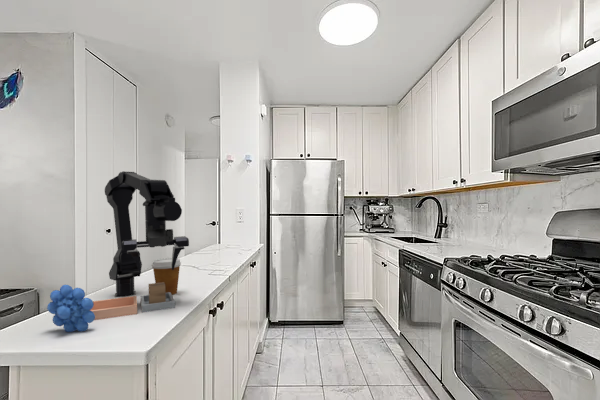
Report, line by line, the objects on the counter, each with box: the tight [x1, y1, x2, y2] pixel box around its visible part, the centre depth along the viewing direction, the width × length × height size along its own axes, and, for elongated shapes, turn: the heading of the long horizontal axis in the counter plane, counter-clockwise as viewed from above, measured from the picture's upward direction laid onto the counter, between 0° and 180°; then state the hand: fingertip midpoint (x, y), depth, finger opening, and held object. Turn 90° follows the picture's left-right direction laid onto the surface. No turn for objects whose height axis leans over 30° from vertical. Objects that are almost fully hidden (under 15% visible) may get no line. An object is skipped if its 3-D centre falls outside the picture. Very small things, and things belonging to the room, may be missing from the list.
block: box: [148, 282, 166, 304], centre depth 108 cm, size 4×4×6 cm
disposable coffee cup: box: [151, 257, 182, 296], centre depth 122 cm, size 10×10×12 cm
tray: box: [140, 292, 176, 313], centre depth 108 cm, size 12×9×2 cm
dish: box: [90, 295, 138, 321], centre depth 102 cm, size 12×15×3 cm
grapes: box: [46, 284, 95, 333], centre depth 86 cm, size 12×7×12 cm, turn 88°
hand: (156, 271), depth 108 cm, fingers open, 9 cm apart
